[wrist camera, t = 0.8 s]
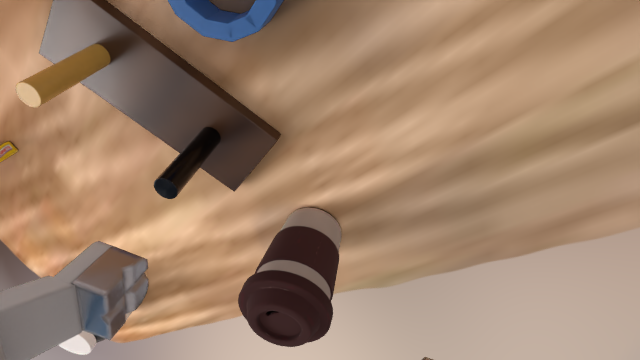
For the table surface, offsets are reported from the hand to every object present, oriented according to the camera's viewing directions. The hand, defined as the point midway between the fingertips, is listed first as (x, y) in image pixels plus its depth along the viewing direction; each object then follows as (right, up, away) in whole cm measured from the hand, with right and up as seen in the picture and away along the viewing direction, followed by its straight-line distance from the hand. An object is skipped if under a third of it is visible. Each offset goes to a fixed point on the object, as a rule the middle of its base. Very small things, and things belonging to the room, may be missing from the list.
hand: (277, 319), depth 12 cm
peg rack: (-16, +14, +36) cm, 42 cm away
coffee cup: (0, -2, +43) cm, 43 cm away
